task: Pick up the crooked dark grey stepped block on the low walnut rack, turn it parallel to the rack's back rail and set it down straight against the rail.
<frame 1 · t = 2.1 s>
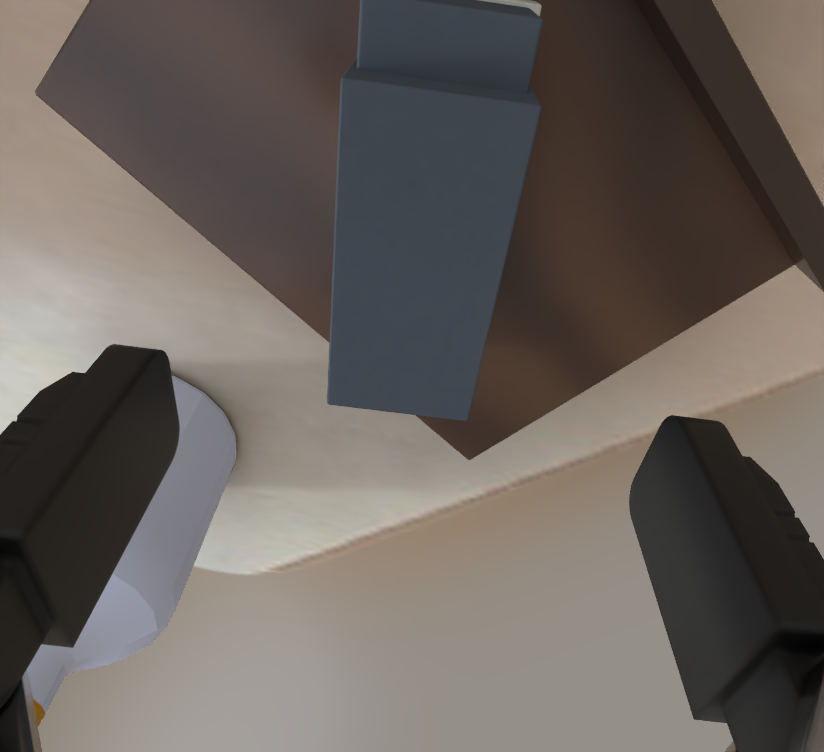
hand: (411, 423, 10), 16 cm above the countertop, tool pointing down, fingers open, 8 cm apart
dark grey stepped block: (424, 195, 18), point 5 cm above the countertop, touching rack
soap bottle: (158, 427, 32), on the countertop
rack: (447, 130, 22), on the countertop
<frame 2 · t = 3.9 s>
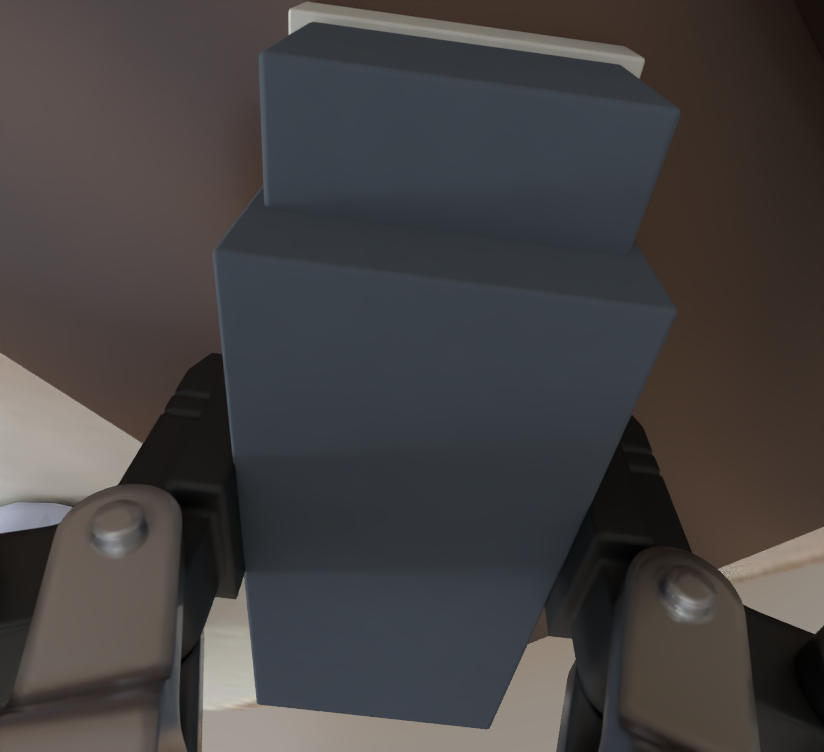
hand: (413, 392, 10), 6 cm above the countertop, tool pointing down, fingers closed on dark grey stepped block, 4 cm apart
dark grey stepped block: (418, 350, 11), point 5 cm above the countertop, touching gripper, rack
soap bottle: (84, 562, 25), on the countertop
rack: (456, 218, 15), on the countertop
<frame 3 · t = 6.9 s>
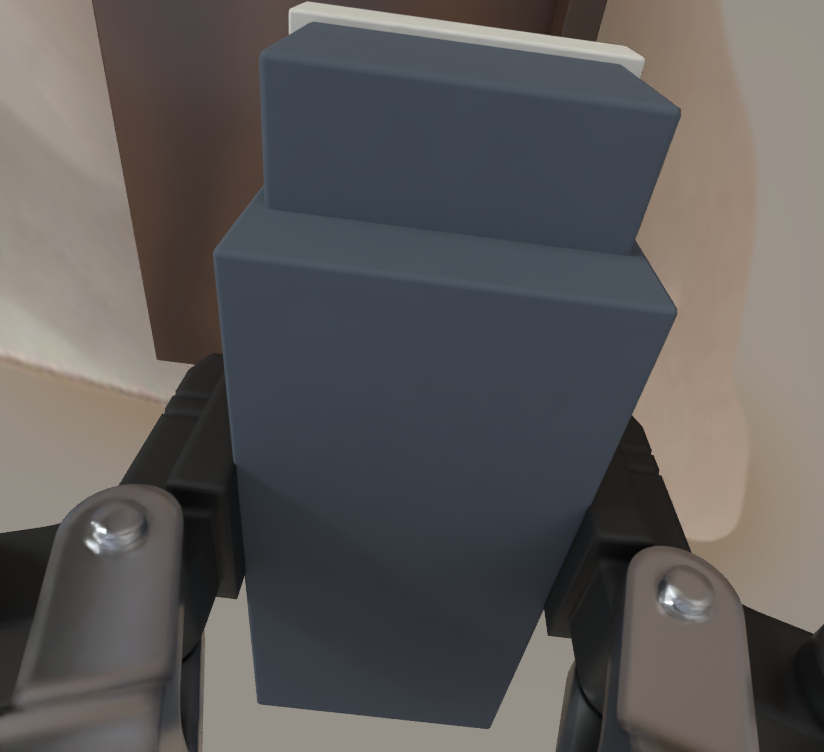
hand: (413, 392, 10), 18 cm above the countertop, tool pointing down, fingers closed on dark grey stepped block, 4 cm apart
dark grey stepped block: (418, 350, 11), point 16 cm above the countertop, touching gripper
rack: (350, 119, 24), on the countertop
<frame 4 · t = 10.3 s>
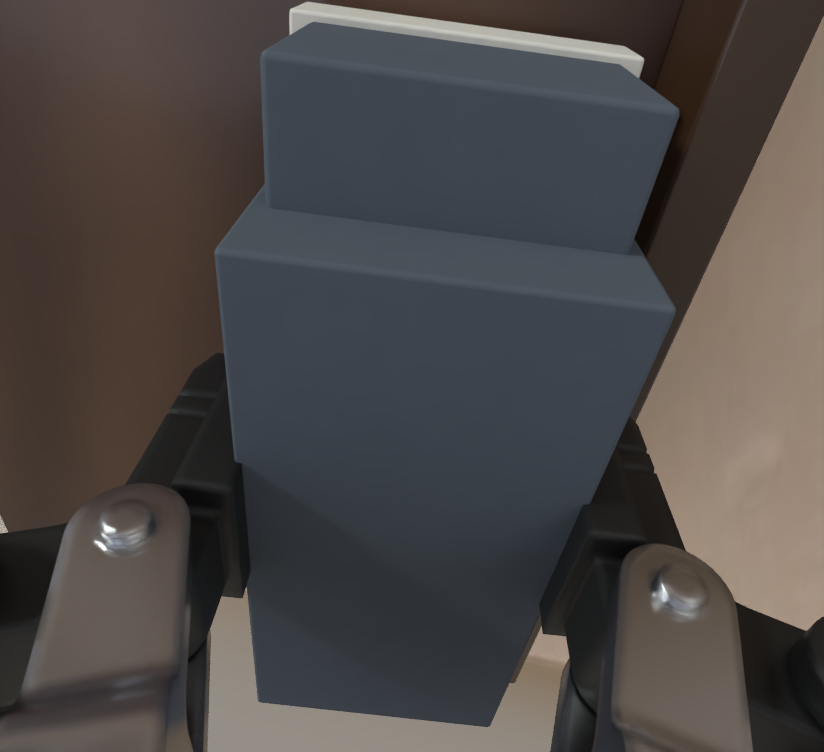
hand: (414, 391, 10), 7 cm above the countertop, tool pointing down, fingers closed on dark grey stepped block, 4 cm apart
dark grey stepped block: (418, 349, 11), point 6 cm above the countertop, touching gripper
rack: (302, 216, 16), on the countertop
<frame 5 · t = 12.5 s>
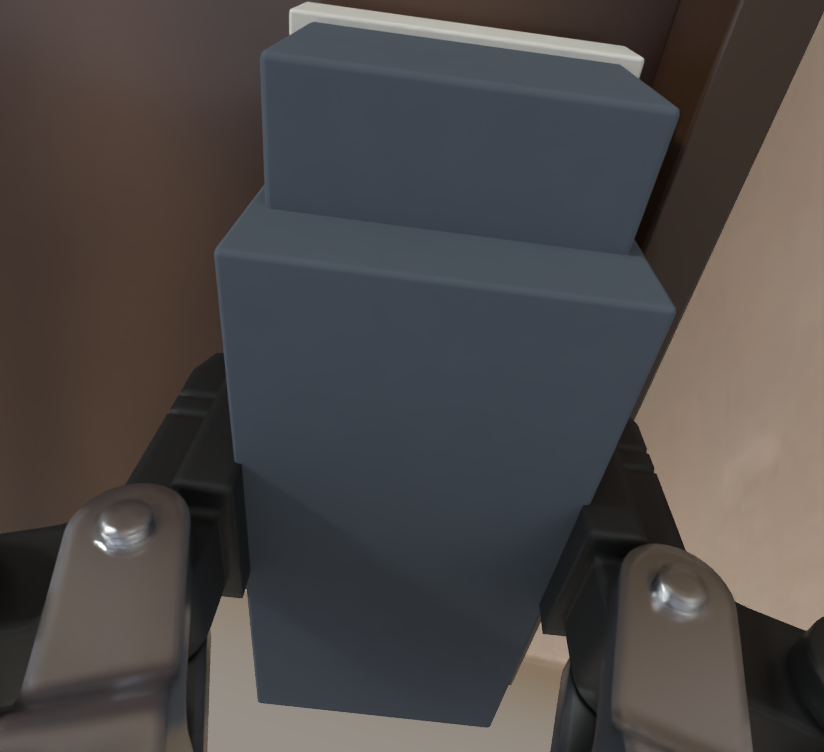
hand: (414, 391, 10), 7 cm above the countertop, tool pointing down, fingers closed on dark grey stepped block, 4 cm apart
dark grey stepped block: (418, 350, 11), point 6 cm above the countertop, touching gripper
rack: (296, 215, 16), on the countertop
when the fingers open (7 cm above the countertop, at t = 14.5 s): dark grey stepped block drops 1 cm, resting on rack.
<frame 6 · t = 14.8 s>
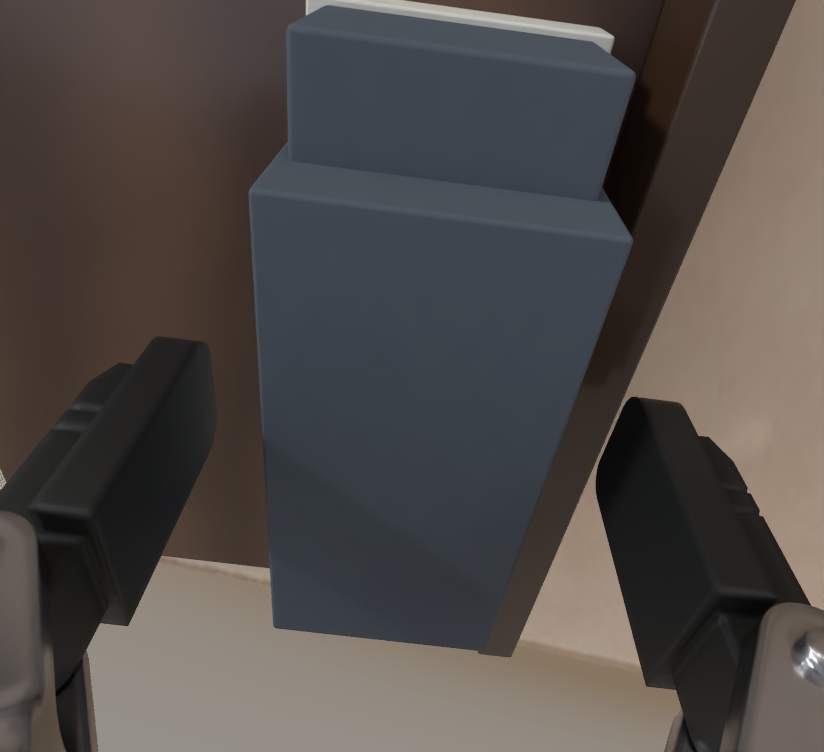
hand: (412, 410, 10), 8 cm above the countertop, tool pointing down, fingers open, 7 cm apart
dark grey stepped block: (419, 309, 12), point 5 cm above the countertop, touching rack
rack: (304, 204, 16), on the countertop
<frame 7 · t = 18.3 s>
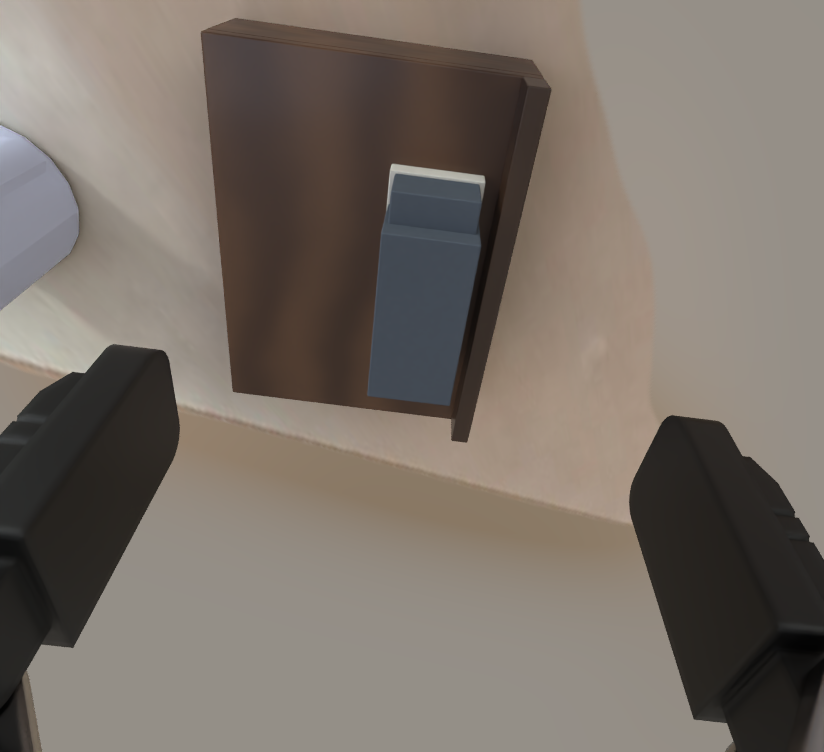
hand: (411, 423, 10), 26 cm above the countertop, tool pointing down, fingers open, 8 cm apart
dark grey stepped block: (424, 272, 31), point 5 cm above the countertop, touching rack
soap bottle: (8, 194, 35), on the countertop
rack: (370, 227, 35), on the countertop
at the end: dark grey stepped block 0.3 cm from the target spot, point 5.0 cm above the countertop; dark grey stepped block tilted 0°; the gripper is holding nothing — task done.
